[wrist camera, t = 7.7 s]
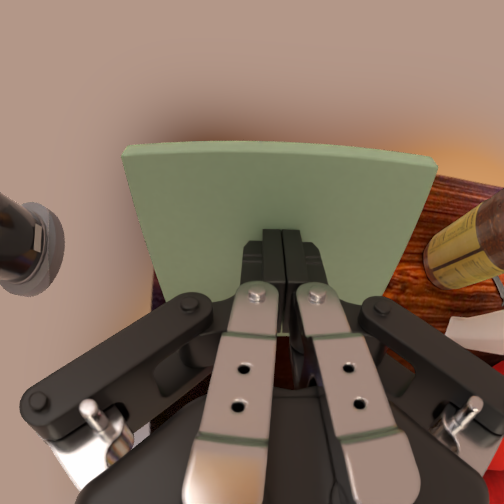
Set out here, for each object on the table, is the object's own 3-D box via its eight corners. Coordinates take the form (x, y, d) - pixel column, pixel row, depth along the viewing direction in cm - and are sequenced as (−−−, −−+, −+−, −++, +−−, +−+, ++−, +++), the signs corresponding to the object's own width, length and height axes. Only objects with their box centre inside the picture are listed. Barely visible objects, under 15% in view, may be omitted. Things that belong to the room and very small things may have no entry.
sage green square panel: (127, 144, 11) (119, 154, 10) (431, 156, 10) (439, 167, 10) (179, 321, 20) (177, 332, 19) (358, 324, 20) (360, 335, 19)
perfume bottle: (438, 317, 28) (543, 305, 14) (467, 307, 28) (569, 289, 14) (444, 359, 27) (547, 369, 13) (473, 347, 27) (574, 347, 13)
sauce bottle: (471, 278, 29) (610, 229, 10) (432, 301, 29) (587, 263, 9) (449, 224, 30) (575, 141, 11) (409, 242, 30) (545, 153, 11)
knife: (483, 257, 29) (485, 256, 29) (491, 250, 29) (493, 249, 29) (509, 332, 28) (511, 332, 27) (516, 324, 28) (519, 324, 27)
